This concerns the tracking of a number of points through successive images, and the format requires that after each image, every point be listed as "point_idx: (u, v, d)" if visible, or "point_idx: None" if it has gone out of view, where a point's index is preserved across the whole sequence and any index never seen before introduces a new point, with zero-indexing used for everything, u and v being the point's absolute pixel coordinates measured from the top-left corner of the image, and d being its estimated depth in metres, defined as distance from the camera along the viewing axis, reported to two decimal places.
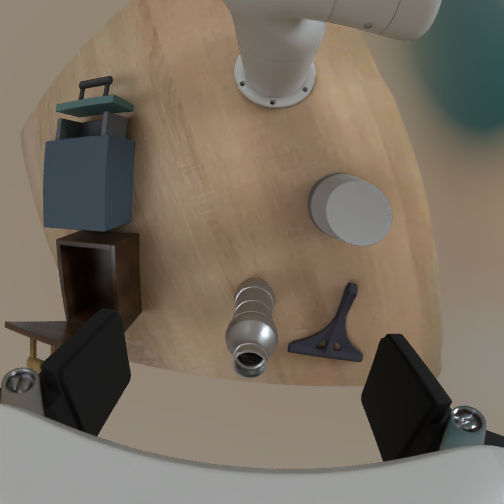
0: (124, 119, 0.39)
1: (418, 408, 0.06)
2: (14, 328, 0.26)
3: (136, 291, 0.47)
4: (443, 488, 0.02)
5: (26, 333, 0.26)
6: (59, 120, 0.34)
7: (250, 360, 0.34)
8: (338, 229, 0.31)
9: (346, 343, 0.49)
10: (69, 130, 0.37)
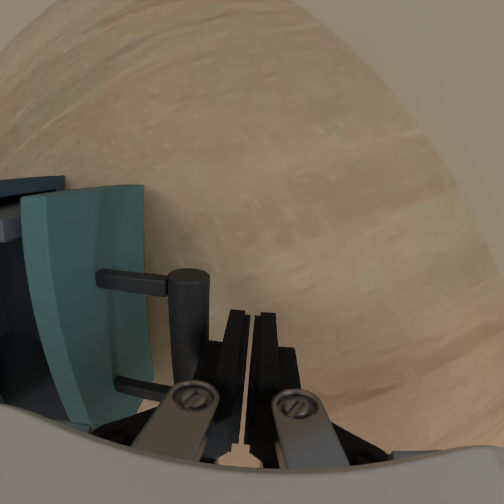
0: None
1: None
2: None
3: None
4: (443, 488, 0.02)
5: None
6: None
7: None
8: None
9: None
10: None
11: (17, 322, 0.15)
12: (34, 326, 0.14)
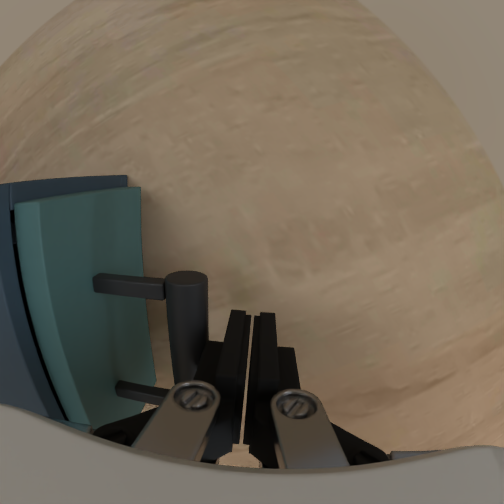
0: None
1: None
2: None
3: None
4: (443, 488, 0.02)
5: None
6: None
7: None
8: None
9: None
10: None
11: None
12: (35, 331, 0.14)
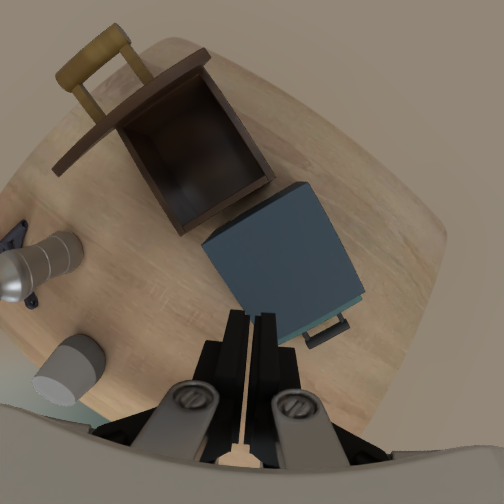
0: None
1: None
2: (172, 74, 0.13)
3: None
4: (443, 488, 0.02)
5: (134, 99, 0.13)
6: None
7: None
8: (49, 380, 0.31)
9: None
10: None
11: None
12: None
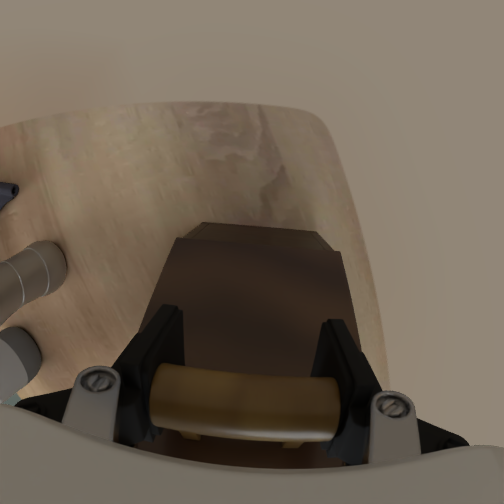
0: None
1: (342, 388, 0.07)
2: None
3: None
4: (443, 488, 0.02)
5: None
6: None
7: None
8: None
9: None
10: None
11: None
12: None
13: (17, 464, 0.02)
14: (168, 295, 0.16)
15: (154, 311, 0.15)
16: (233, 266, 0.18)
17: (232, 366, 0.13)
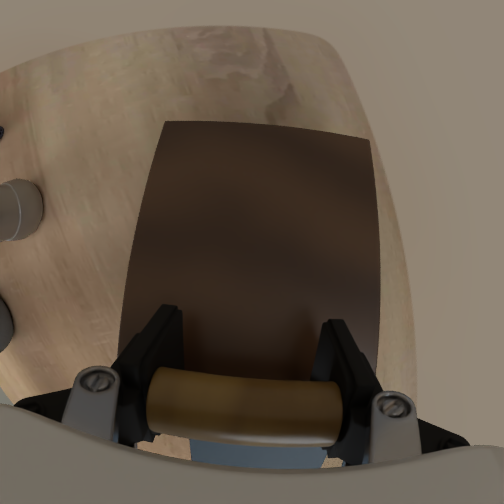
0: None
1: (343, 389, 0.07)
2: None
3: None
4: (443, 488, 0.02)
5: None
6: None
7: None
8: None
9: None
10: None
11: None
12: None
13: (17, 464, 0.02)
14: (158, 206, 0.13)
15: (144, 231, 0.13)
16: (236, 159, 0.14)
17: (236, 300, 0.12)
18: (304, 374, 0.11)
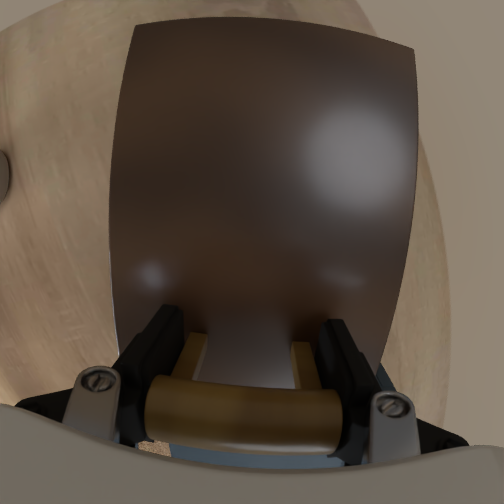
0: None
1: (342, 388, 0.07)
2: None
3: None
4: (443, 488, 0.02)
5: None
6: None
7: None
8: None
9: None
10: None
11: None
12: None
13: (17, 464, 0.02)
14: (134, 141, 0.09)
15: (121, 175, 0.10)
16: (233, 68, 0.09)
17: (237, 256, 0.10)
18: (313, 336, 0.11)
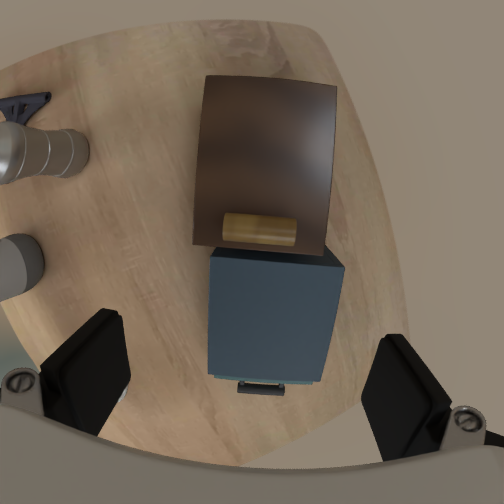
0: None
1: (418, 408, 0.06)
2: None
3: None
4: (443, 488, 0.02)
5: (270, 250, 0.26)
6: None
7: None
8: None
9: (7, 116, 0.30)
10: None
11: None
12: None
13: (17, 464, 0.02)
14: (210, 131, 0.23)
15: (204, 145, 0.23)
16: (253, 102, 0.22)
17: (255, 179, 0.24)
18: (289, 217, 0.25)
